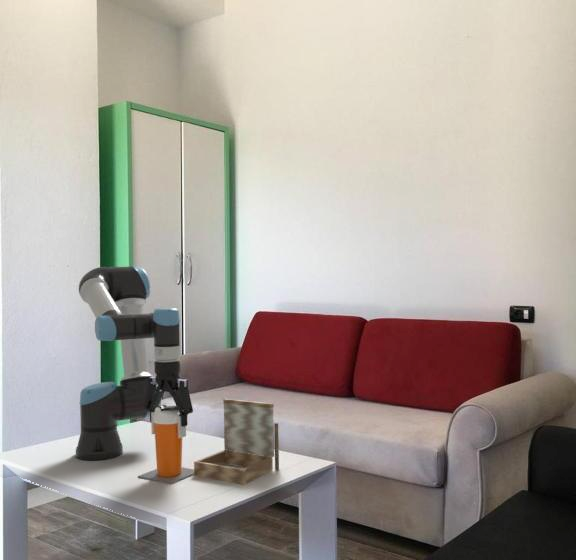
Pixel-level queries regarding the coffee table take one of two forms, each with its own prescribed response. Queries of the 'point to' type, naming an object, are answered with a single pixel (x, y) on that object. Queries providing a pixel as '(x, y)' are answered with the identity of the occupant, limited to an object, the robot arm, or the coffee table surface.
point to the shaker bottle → (167, 441)
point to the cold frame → (243, 443)
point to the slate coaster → (154, 476)
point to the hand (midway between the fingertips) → (168, 435)
